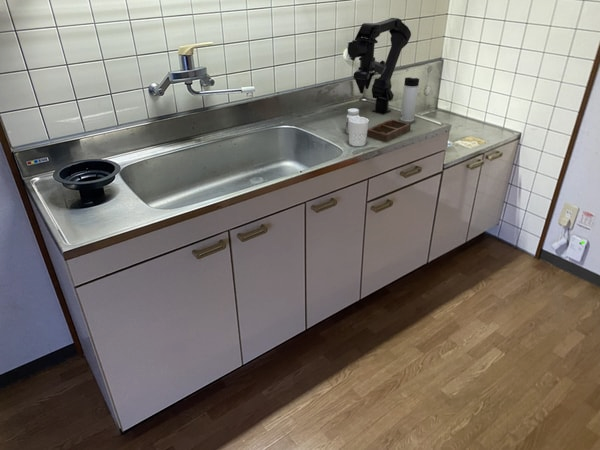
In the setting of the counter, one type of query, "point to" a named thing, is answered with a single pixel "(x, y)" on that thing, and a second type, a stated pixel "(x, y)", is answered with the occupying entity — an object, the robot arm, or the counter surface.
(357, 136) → the white cup
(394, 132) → the divided brown tray
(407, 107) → the travel mug
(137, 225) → the counter surface
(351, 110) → the pill bottle
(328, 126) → the counter surface
